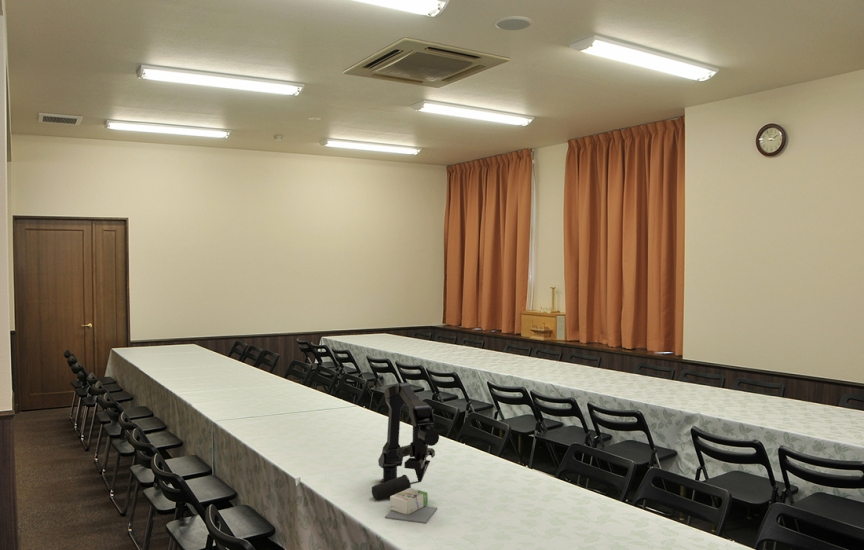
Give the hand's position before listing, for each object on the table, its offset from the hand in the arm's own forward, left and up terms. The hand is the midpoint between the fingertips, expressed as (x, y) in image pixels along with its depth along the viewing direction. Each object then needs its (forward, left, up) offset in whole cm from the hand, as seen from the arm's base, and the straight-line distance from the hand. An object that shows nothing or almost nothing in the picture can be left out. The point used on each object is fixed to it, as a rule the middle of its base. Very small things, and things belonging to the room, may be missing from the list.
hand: (419, 481), depth 233 cm
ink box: (-2, -1, -6) cm, 6 cm away
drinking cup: (-1, -19, -6) cm, 20 cm away
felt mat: (+8, -1, -9) cm, 12 cm away
